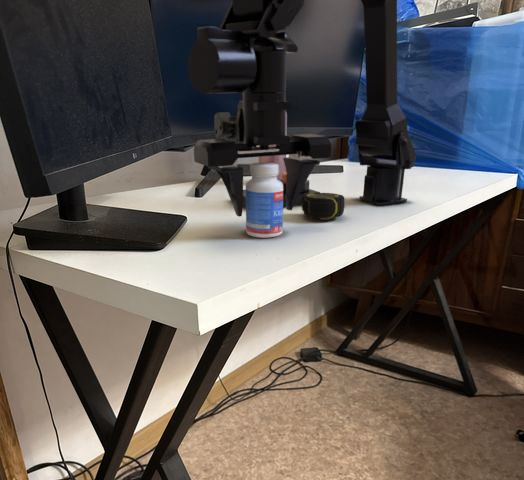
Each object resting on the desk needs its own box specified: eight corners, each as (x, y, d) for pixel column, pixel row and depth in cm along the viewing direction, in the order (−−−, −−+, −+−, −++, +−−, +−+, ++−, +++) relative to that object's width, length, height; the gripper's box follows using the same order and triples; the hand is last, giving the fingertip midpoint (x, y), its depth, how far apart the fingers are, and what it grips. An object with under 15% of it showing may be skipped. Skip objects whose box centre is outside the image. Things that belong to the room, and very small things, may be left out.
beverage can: (257, 181, 115) (257, 107, 108) (283, 180, 116) (284, 107, 109) (260, 185, 110) (259, 109, 103) (287, 185, 111) (289, 108, 104)
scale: (295, 194, 102) (295, 176, 100) (319, 202, 95) (320, 183, 93) (231, 201, 96) (230, 182, 94) (252, 210, 89) (251, 190, 87)
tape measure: (340, 213, 87) (342, 190, 85) (345, 222, 81) (347, 198, 79) (300, 213, 87) (301, 190, 85) (302, 222, 81) (303, 198, 79)
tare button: (295, 180, 97) (295, 171, 97) (305, 183, 94) (305, 173, 94) (278, 182, 96) (278, 172, 95) (288, 185, 93) (288, 175, 92)
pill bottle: (279, 239, 73) (280, 167, 68) (243, 237, 74) (241, 166, 69) (285, 229, 77) (286, 161, 73) (250, 228, 78) (249, 161, 74)
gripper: (294, 91, 77) (292, 196, 84) (176, 92, 69) (184, 208, 77) (336, 91, 68) (330, 210, 75) (206, 94, 61) (212, 225, 68)
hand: (264, 212), depth 74 cm, fingers open, 8 cm apart
